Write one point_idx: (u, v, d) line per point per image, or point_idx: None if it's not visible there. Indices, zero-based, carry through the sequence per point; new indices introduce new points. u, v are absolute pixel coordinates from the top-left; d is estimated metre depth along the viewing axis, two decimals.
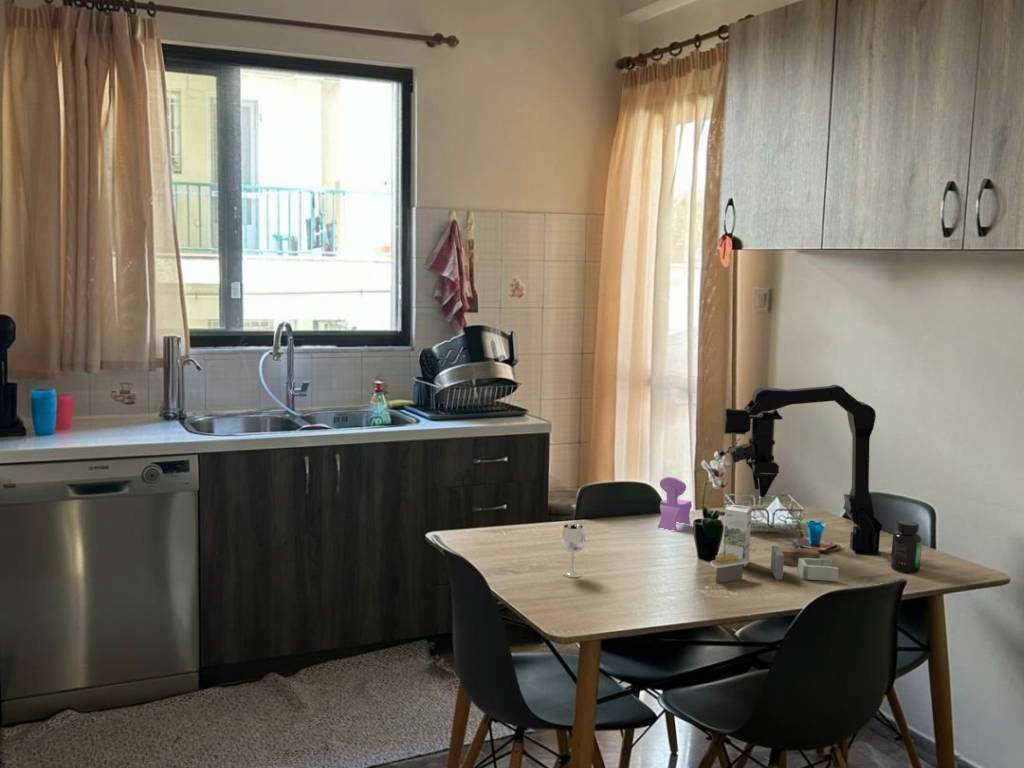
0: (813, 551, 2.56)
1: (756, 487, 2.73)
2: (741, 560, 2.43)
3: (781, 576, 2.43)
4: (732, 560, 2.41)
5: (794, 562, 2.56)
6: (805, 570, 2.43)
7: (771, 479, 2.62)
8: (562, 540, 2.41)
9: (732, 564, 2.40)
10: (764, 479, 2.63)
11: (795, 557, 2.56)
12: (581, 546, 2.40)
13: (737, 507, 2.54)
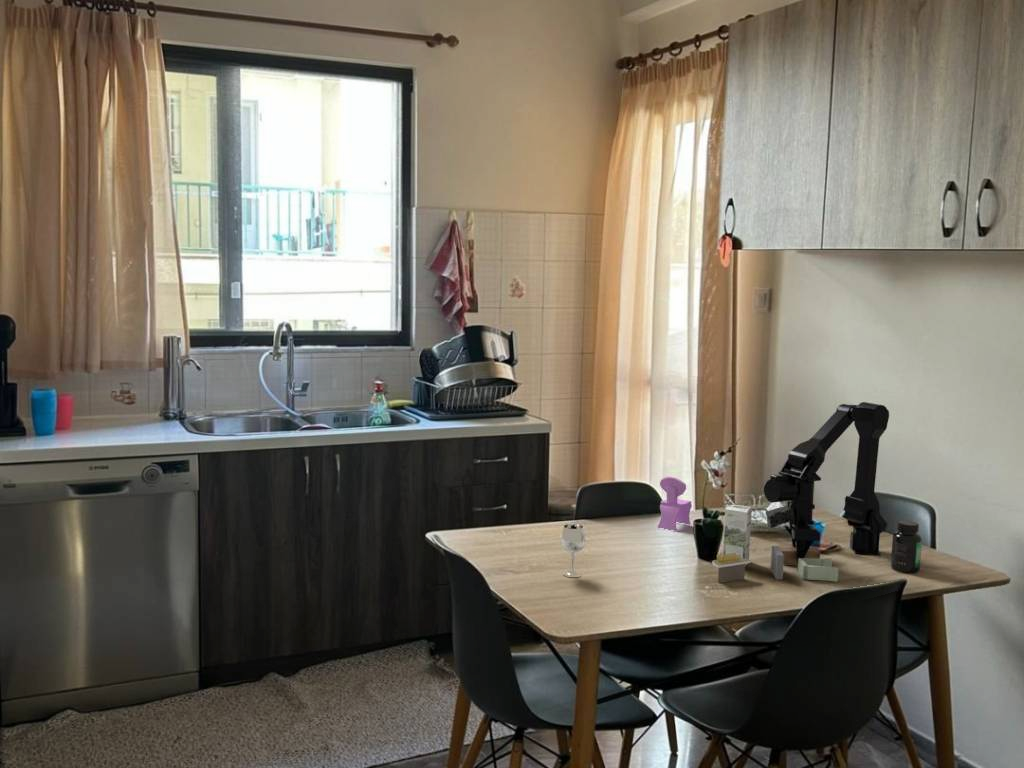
0: (813, 550, 2.57)
1: None
2: (743, 560, 2.43)
3: (781, 576, 2.43)
4: (734, 560, 2.42)
5: (795, 561, 2.55)
6: (805, 570, 2.43)
7: (809, 543, 2.53)
8: (562, 540, 2.41)
9: (734, 564, 2.40)
10: (802, 543, 2.53)
11: (796, 557, 2.55)
12: (581, 546, 2.40)
13: (737, 507, 2.54)
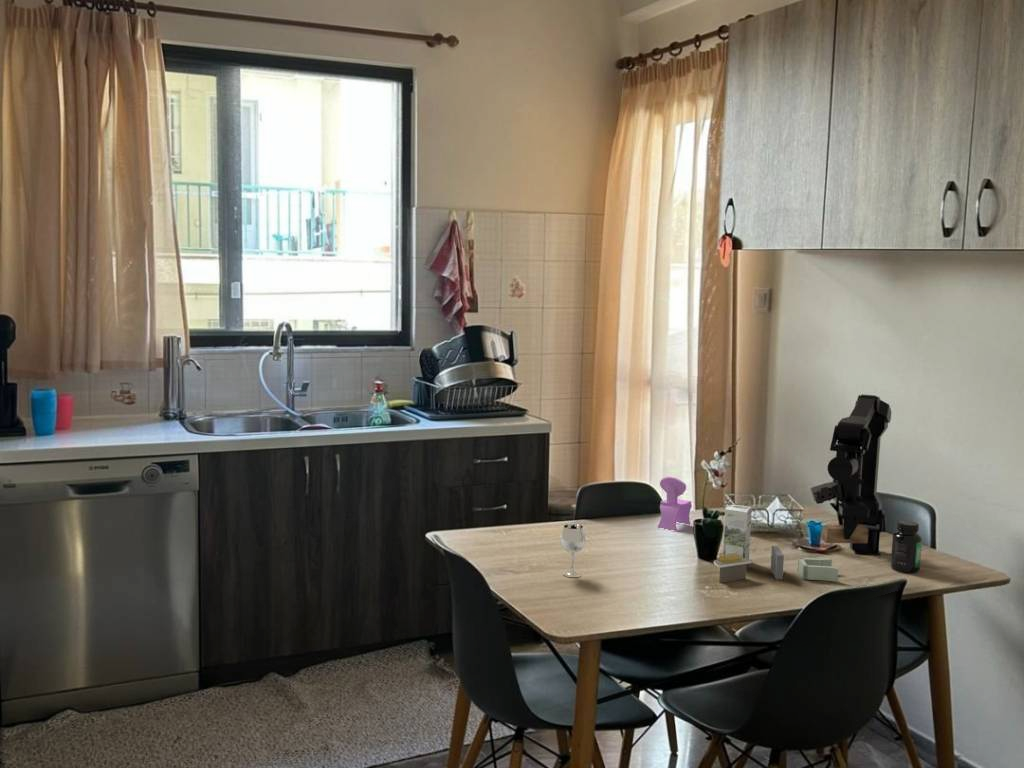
0: (860, 527, 2.44)
1: None
2: (745, 560, 2.43)
3: (781, 576, 2.43)
4: (735, 560, 2.42)
5: (842, 539, 2.43)
6: (805, 570, 2.43)
7: (857, 520, 2.40)
8: (562, 540, 2.41)
9: (735, 564, 2.40)
10: (849, 520, 2.41)
11: (843, 535, 2.43)
12: (581, 546, 2.40)
13: (737, 507, 2.54)
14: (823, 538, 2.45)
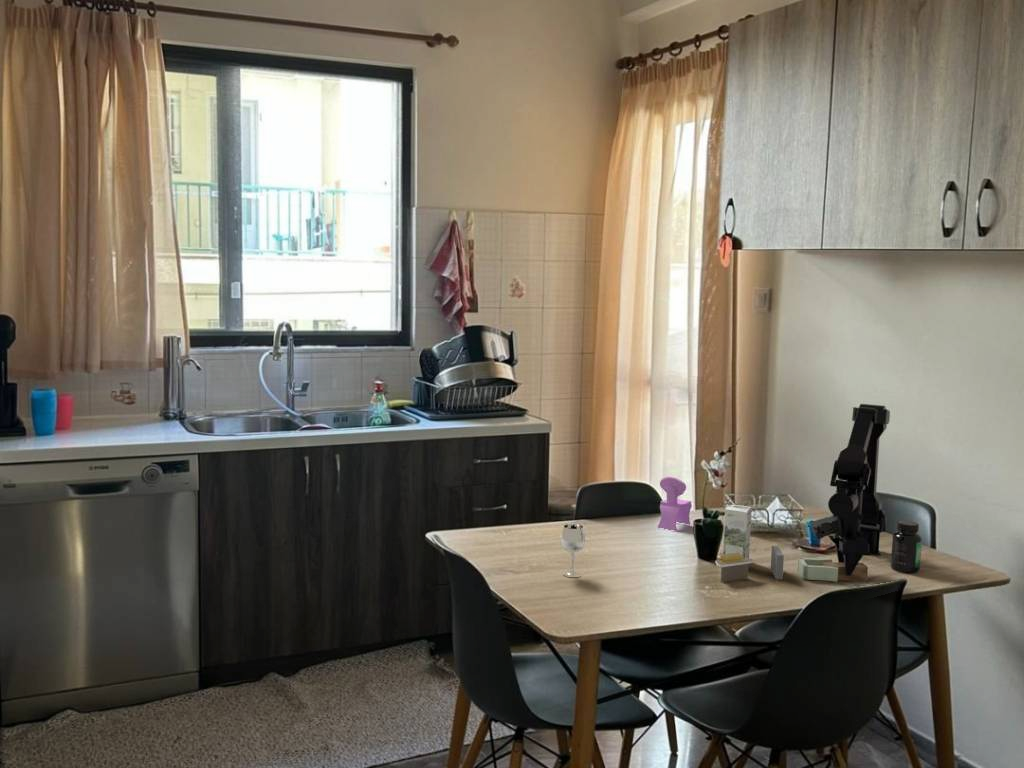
0: (860, 565, 2.45)
1: None
2: (746, 559, 2.43)
3: (781, 576, 2.43)
4: (737, 559, 2.42)
5: (841, 577, 2.44)
6: (805, 570, 2.43)
7: (859, 557, 2.40)
8: (562, 540, 2.41)
9: (737, 563, 2.40)
10: (851, 556, 2.41)
11: (842, 572, 2.44)
12: (581, 546, 2.40)
13: (737, 507, 2.54)
14: None
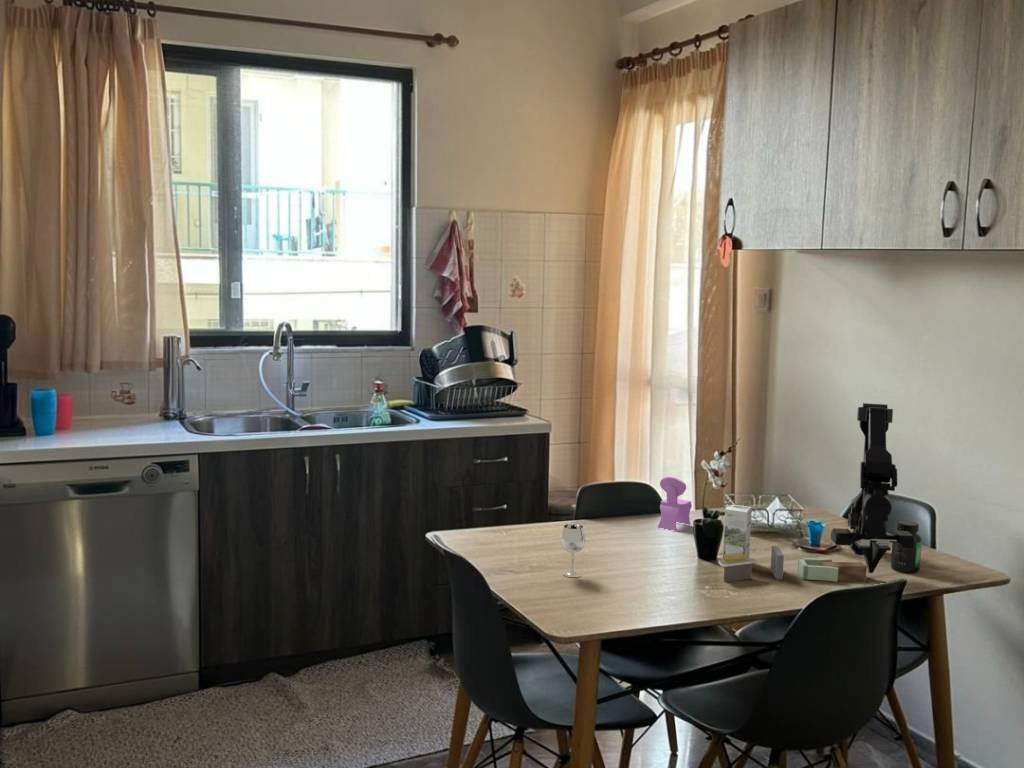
0: (859, 564, 2.45)
1: None
2: (750, 559, 2.43)
3: (781, 576, 2.43)
4: (741, 559, 2.42)
5: (841, 577, 2.44)
6: (805, 570, 2.43)
7: (865, 553, 2.43)
8: (562, 540, 2.41)
9: (740, 563, 2.41)
10: None
11: (841, 572, 2.44)
12: (581, 546, 2.40)
13: (737, 507, 2.54)
14: None
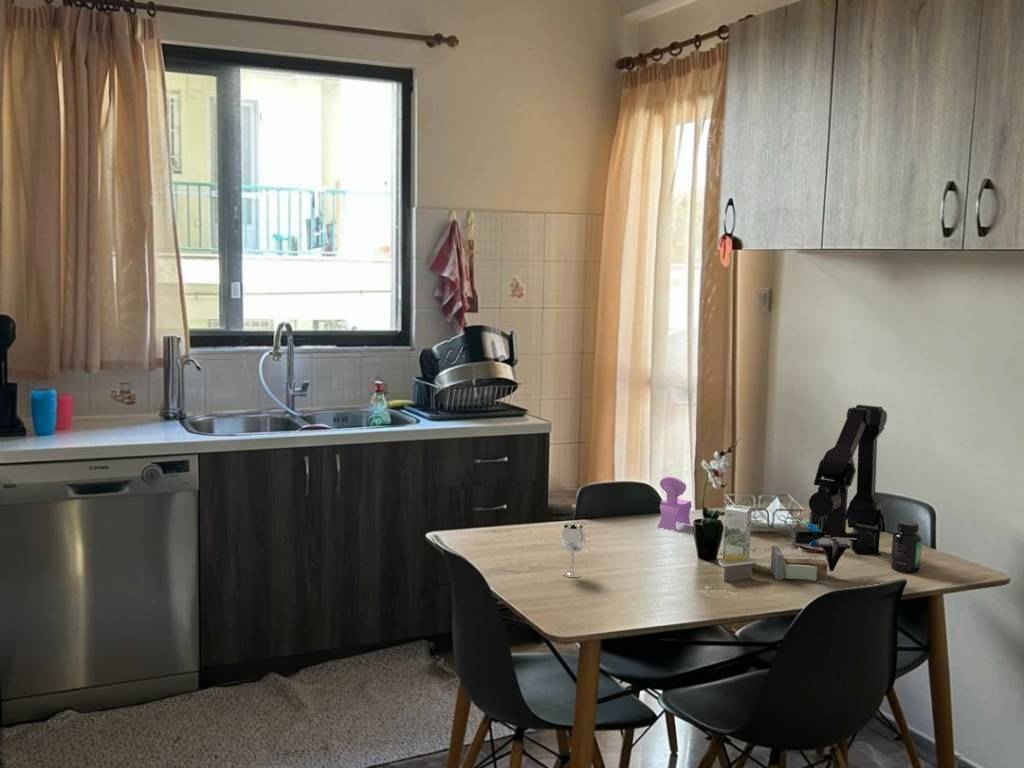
0: (820, 562, 2.46)
1: None
2: (750, 559, 2.43)
3: (781, 576, 2.43)
4: (741, 559, 2.42)
5: None
6: (784, 569, 2.43)
7: (826, 552, 2.44)
8: (562, 540, 2.41)
9: (740, 563, 2.41)
10: None
11: None
12: (581, 546, 2.40)
13: (737, 507, 2.54)
14: None
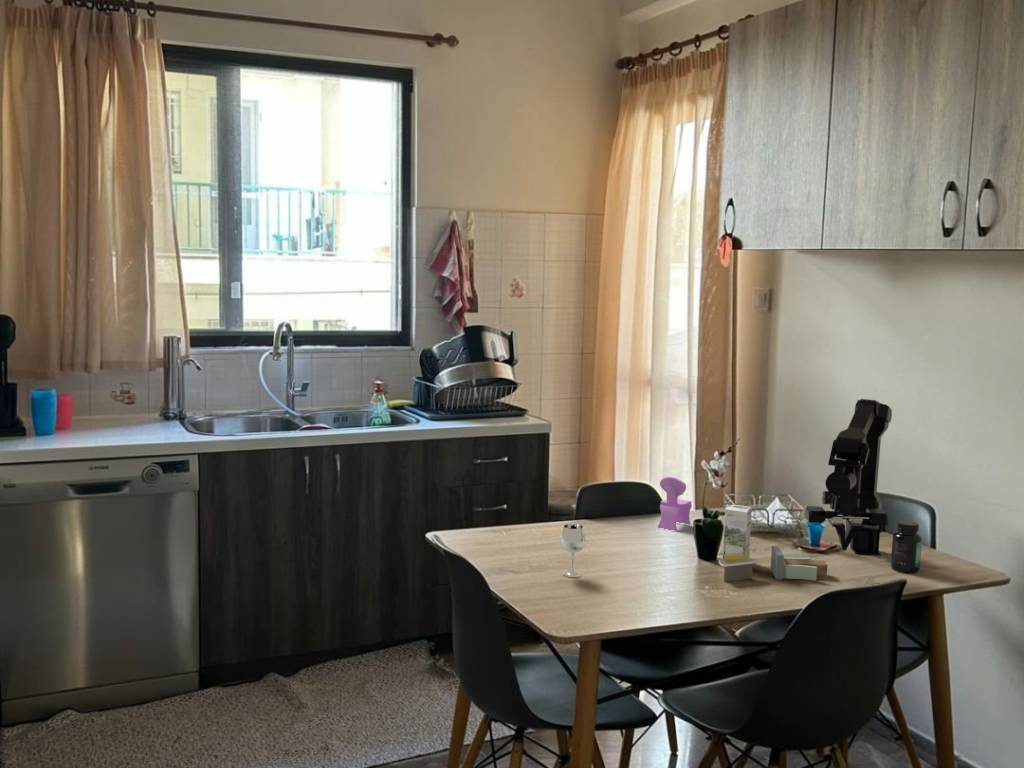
0: (820, 563, 2.46)
1: None
2: (750, 559, 2.43)
3: (781, 576, 2.43)
4: (741, 559, 2.42)
5: None
6: (784, 569, 2.43)
7: None
8: (562, 540, 2.41)
9: (740, 563, 2.41)
10: None
11: None
12: (581, 546, 2.40)
13: (737, 507, 2.54)
14: None
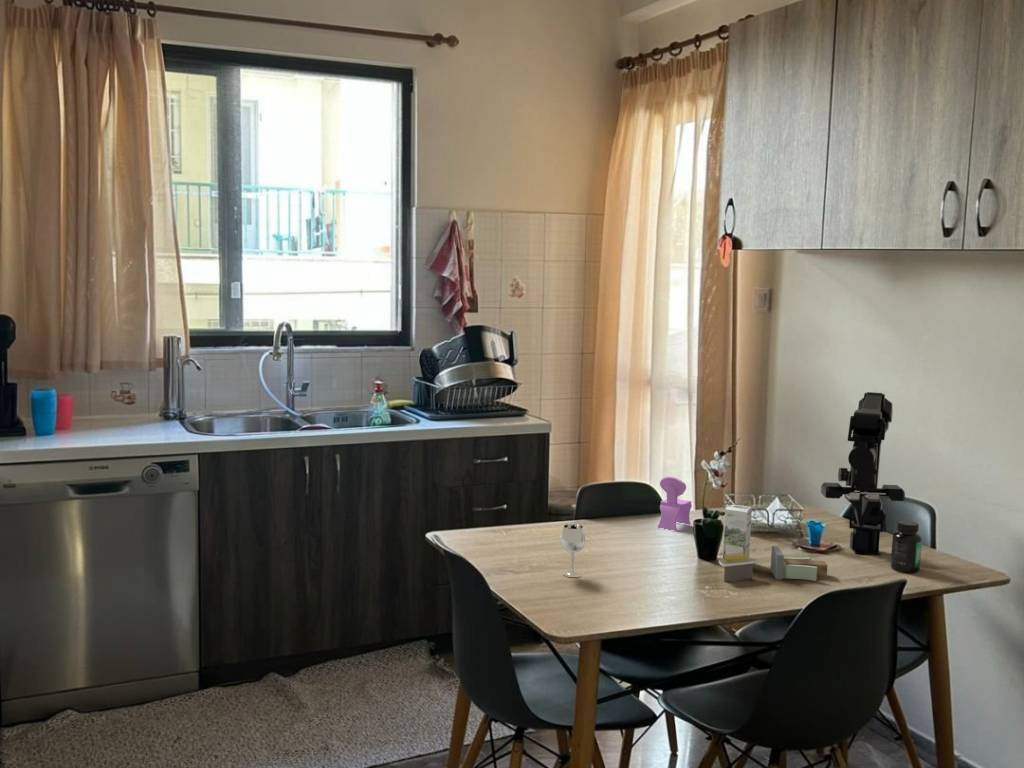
0: (820, 563, 2.46)
1: None
2: (751, 559, 2.43)
3: (781, 576, 2.43)
4: (741, 559, 2.42)
5: None
6: (784, 569, 2.43)
7: (855, 506, 2.46)
8: (562, 540, 2.41)
9: (740, 563, 2.41)
10: None
11: None
12: (581, 546, 2.40)
13: (737, 507, 2.54)
14: None
